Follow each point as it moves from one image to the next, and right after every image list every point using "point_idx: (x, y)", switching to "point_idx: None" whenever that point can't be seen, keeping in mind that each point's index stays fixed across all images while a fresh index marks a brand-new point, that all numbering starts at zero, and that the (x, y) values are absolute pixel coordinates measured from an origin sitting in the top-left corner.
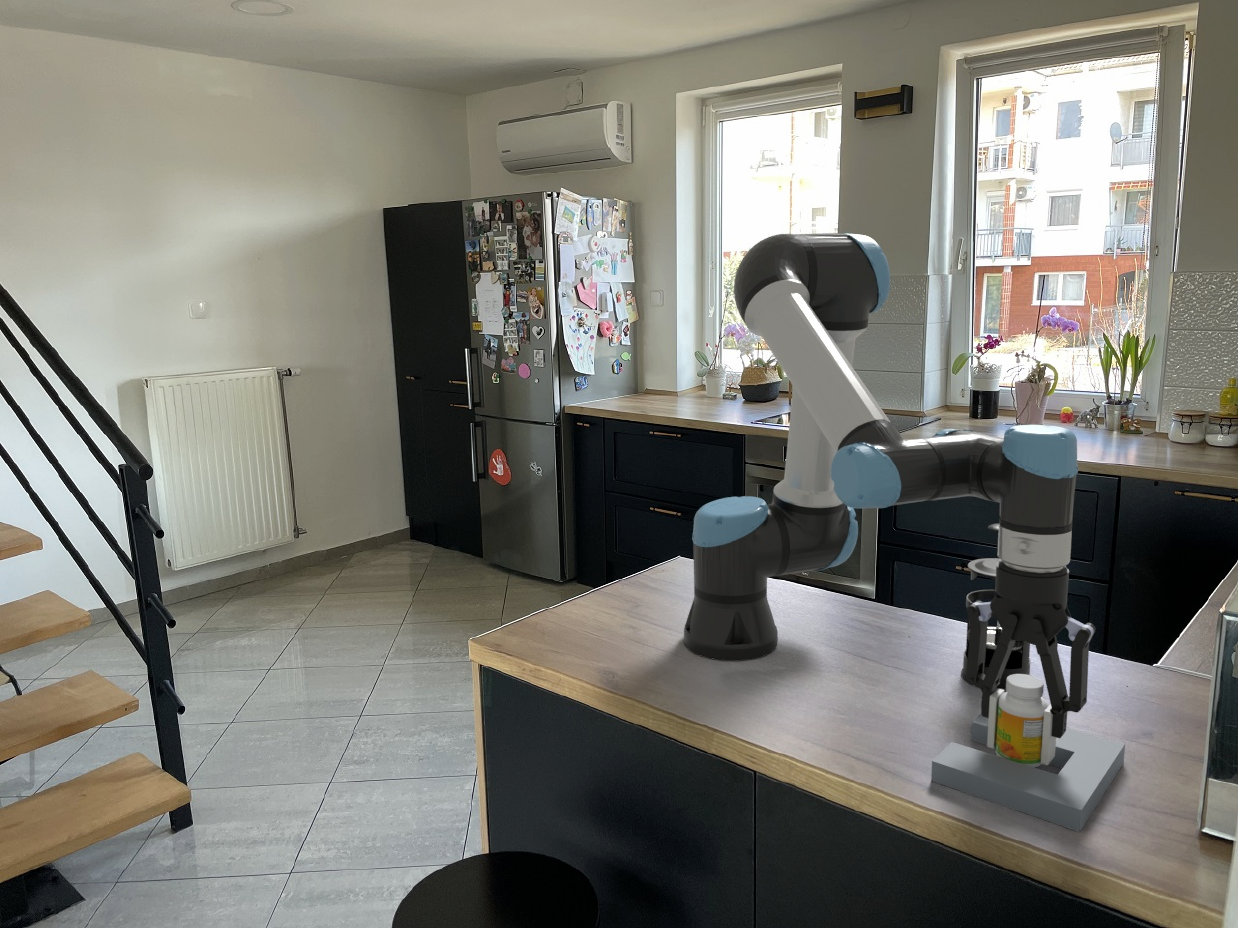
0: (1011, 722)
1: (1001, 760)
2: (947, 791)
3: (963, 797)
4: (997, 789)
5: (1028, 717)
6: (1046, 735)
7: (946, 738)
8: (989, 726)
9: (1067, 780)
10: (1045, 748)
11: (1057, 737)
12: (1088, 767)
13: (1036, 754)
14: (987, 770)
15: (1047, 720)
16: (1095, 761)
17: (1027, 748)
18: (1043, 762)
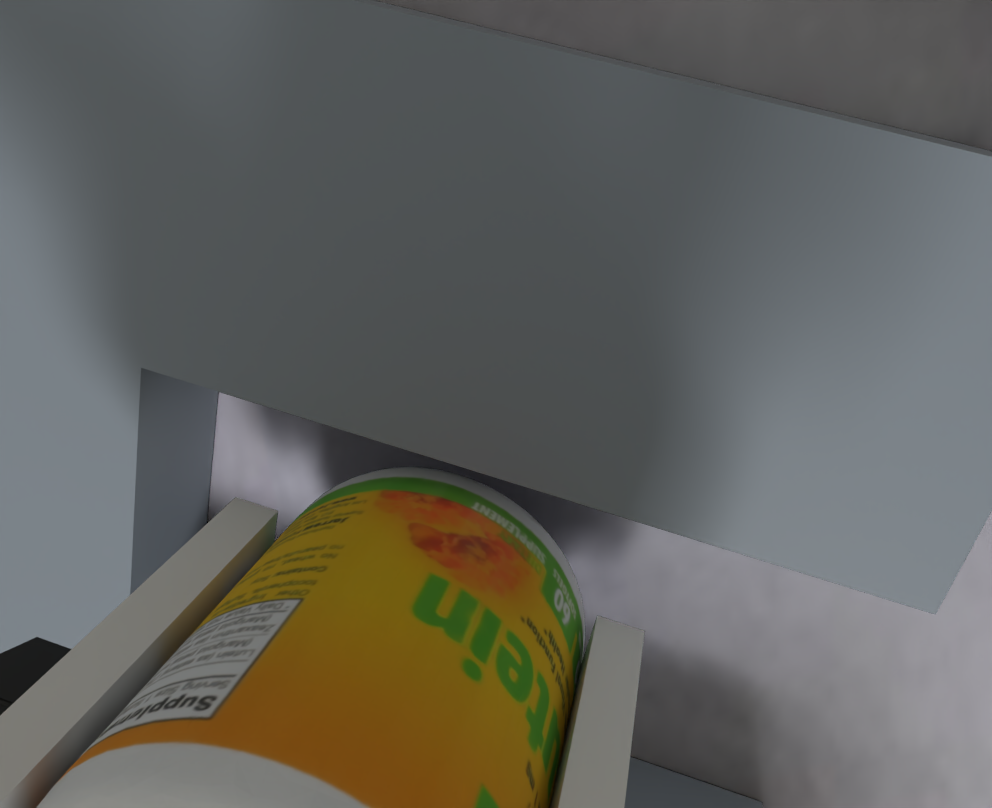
0: (361, 705)
1: (518, 437)
2: (927, 50)
3: (791, 12)
4: (518, 38)
5: (147, 745)
6: (114, 636)
7: (927, 795)
8: (618, 755)
9: (72, 311)
10: (189, 570)
11: (54, 644)
12: (18, 527)
13: (277, 542)
14: (609, 229)
15: (7, 747)
16: (10, 610)
17: (310, 544)
18: (256, 511)
